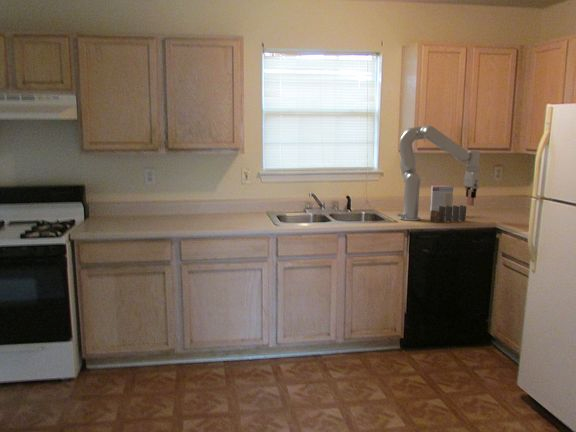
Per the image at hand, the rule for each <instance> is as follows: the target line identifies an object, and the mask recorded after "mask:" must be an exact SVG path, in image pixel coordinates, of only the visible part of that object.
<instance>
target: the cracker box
mask: <svg viewBox="0 0 576 432" xmlns="http://www.w3.org/2000/svg"><path fill="white" fill-rule="evenodd" d="M430 190H431V191H430V207H429V208H430V209H429V210H430V212H429V214H430V216H431V210H435V211H438V212H439V206H444V207H446V206H451V207H453V200H454V199H453V198H454V196H453V195H454V186H453V185H440V184H439V185H436V184H435V185H433V184H432V185H431V189H430ZM445 217H446V209H445Z"/></svg>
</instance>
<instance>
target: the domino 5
mask: <svg viewBox="0 0 576 432" xmlns="http://www.w3.org/2000/svg"><path fill="white" fill-rule="evenodd" d="M471 192H472V189H471V190H468V197H467V198H466V199H467V202H466V204H467V206H474V205H475V204H474V203H475V198H471Z"/></svg>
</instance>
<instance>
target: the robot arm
mask: <svg viewBox="0 0 576 432" xmlns="http://www.w3.org/2000/svg"><path fill="white" fill-rule="evenodd" d="M402 133H403V134H402V135H401V137H400V139H399V141H398V149H399V156H400V160H399V166H400V169H401V170H400V171H401V175H402V179H403V182H404V194H403V195H404V197H403V211H402V212H401V213H396V217H400V219H401V220H404V221H411V222H412V221H413V222H414V221H416V222H417V221H421V217H419V205H420V189H421V187H420V186H421V176H420V174H419V173H418V172H417V168H416V165H417V161H416V158H415V152H414V147H413V146H414V145H413V143H414V141H419V140H425V139H426V140H427V141H429V142H430V143H432V144H433V145H435V146H436V147H437V148H439V149H440V150H442V151H445V152H447V153H448V154H450V155H452V156H453V157H454V159H455V160H456V161H457V162H460V163H465V162H466V169H465V173H464V181H463V185H464V187H465V191H466V193H465V197H467V198H468V190H472V192H471V198H474V199H475V198H477V191H478V189H479V188H480V187H479V184H480V182H479V181H480V180H479V179H480V178H479V177H480V176H479V171H480V170H479V169H480V158H481V157H480V154H481V152H480V150H477V149H473V150H472V149H471V150H467V149H465V148H464V147H462V146H461V145H460V144H459V143H457V142H455V141H453V140H452V139H451V138H450V137H448V136H447V135H445V134H444V133H442V132H441V131H440V130H439V129H438V128H436V127H434V126H433V125H422V126H416V127H415V126H413V127H408V128H405V129H404V131H403V132H402Z"/></svg>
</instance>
